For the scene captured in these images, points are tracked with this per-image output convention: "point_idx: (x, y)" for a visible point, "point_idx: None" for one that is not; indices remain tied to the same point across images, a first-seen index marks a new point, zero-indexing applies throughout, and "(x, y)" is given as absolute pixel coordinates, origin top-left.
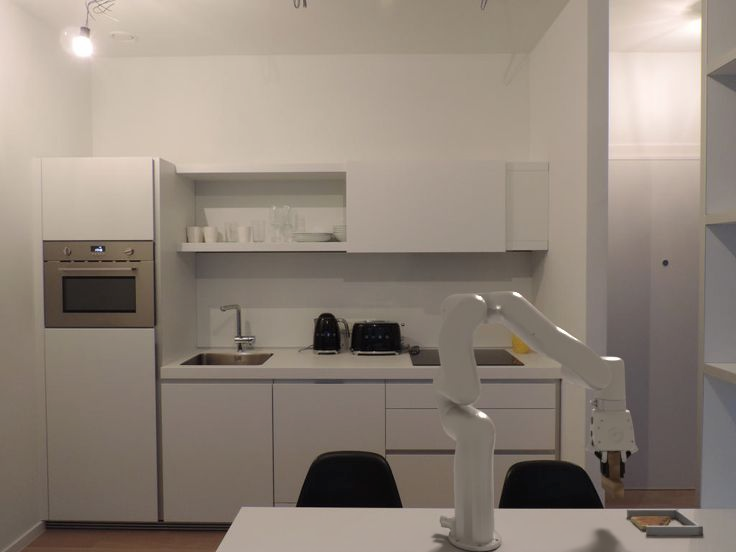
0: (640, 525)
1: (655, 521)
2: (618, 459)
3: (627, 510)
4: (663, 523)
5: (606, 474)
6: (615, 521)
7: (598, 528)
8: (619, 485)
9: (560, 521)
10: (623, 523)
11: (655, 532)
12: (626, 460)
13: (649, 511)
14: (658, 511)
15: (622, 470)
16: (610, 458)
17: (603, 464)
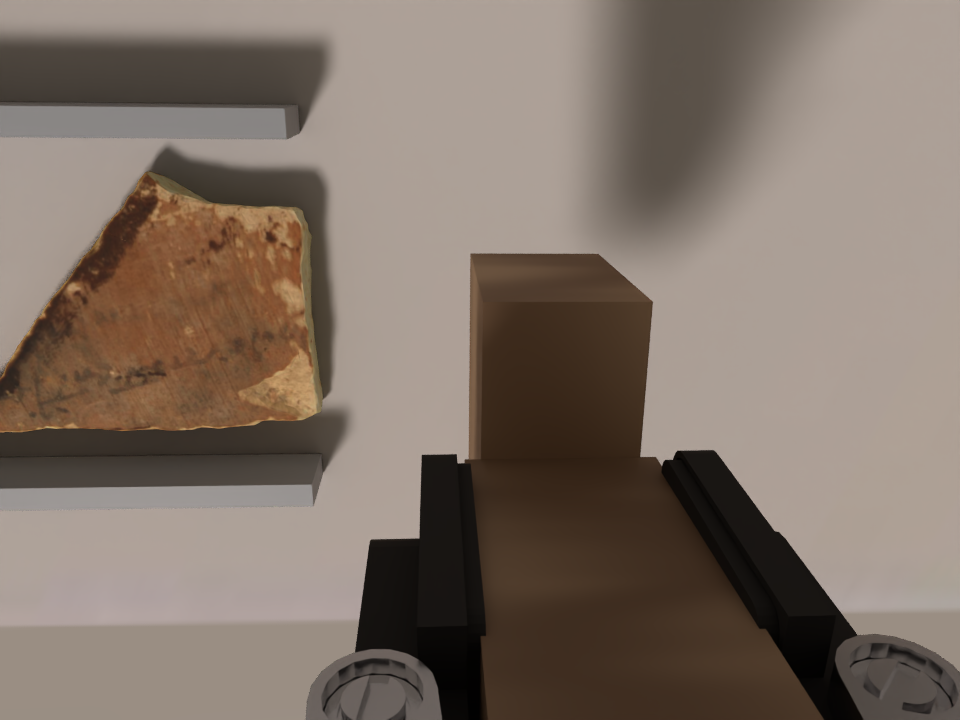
0: (306, 235)
1: (140, 307)
2: (531, 702)
3: (313, 491)
4: (81, 273)
5: (728, 488)
6: (455, 387)
7: (658, 251)
8: (553, 292)
9: (893, 386)
10: (406, 349)
11: (221, 105)
12: (316, 684)
13: (124, 481)
14: (44, 481)
15: (442, 519)
16: (761, 714)
17: (832, 637)
